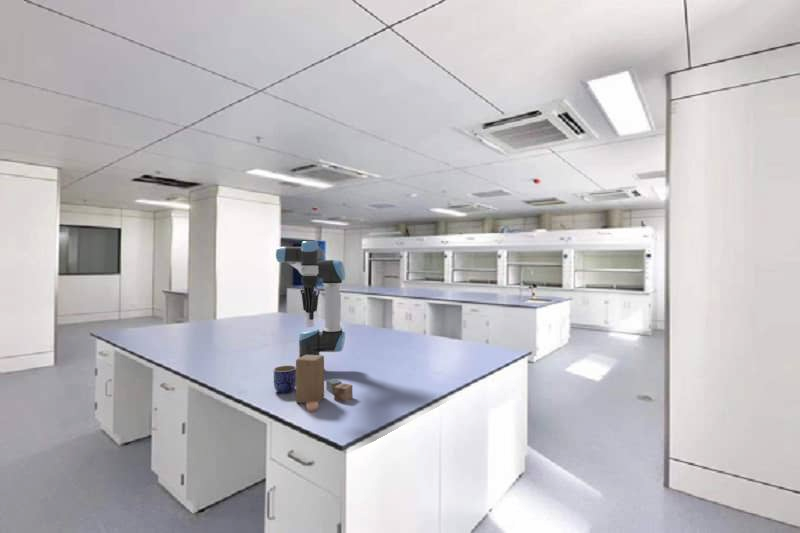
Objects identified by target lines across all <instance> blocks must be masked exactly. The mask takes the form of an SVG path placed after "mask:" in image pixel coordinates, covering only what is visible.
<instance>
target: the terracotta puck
mask: <svg viewBox="0 0 800 533" xmlns="http://www.w3.org/2000/svg"><path fill="white" fill-rule="evenodd" d="M317 411H319V402H318V401H309V402H307V404H306V412H309V413H315V412H317Z"/></svg>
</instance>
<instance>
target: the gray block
mask: <svg viewBox="0 0 800 533" xmlns="http://www.w3.org/2000/svg"><path fill="white" fill-rule="evenodd" d="M325 383H326V385H325V386H326V391H327V392H329V393H330V394H332V395H334V387H336V386H338V385H340V384H341V383H342V381H340V379H337V378H331V379H326V382H325Z"/></svg>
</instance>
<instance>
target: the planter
mask: <svg viewBox="0 0 800 533" xmlns="http://www.w3.org/2000/svg"><path fill="white" fill-rule="evenodd" d="M273 387H274V390H275V391H276V392H277V393H279V394H287V393H288V392H289V393H291V392H293V391H294V390H296V365H280V366H277V367H274V368H273ZM289 393H288V394H289Z"/></svg>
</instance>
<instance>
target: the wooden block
mask: <svg viewBox="0 0 800 533" xmlns="http://www.w3.org/2000/svg"><path fill="white" fill-rule="evenodd" d="M295 367H296V387H295V403H297V404H305V405H307V402H309V401H318V403H319V402H320V401H322V399H323V398H324V397H325V356H324V355H320V354H319V355H304V356H302V357H300V358H299V357H298V358H296V359H295Z"/></svg>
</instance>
